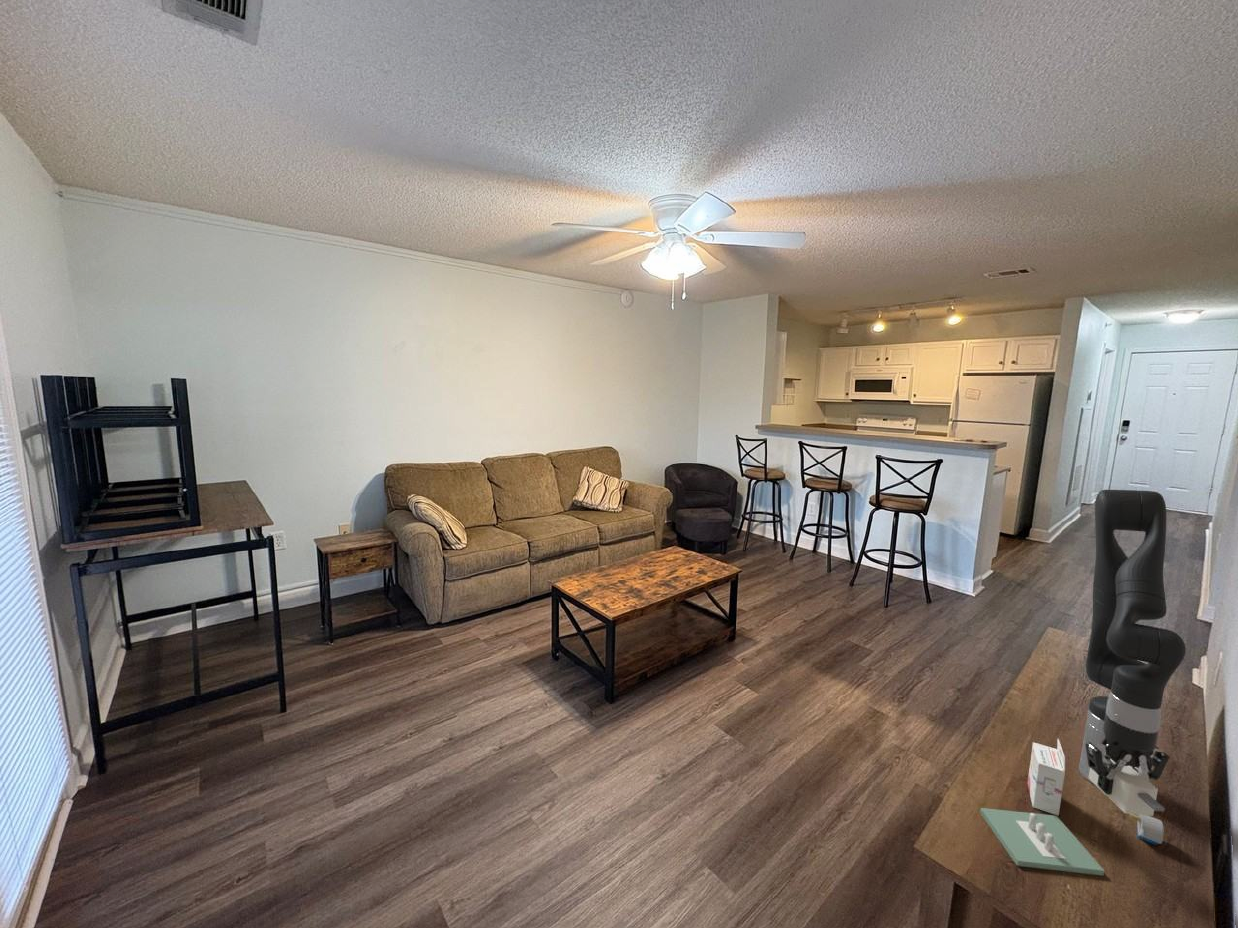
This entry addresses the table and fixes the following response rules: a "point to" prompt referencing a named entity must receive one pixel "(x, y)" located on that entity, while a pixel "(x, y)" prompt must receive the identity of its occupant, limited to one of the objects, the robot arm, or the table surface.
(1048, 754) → the ink cartridge box
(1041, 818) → the board
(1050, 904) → the table surface
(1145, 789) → the plug housing
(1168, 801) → the table surface
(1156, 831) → the electric motor
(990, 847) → the table surface
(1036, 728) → the table surface
